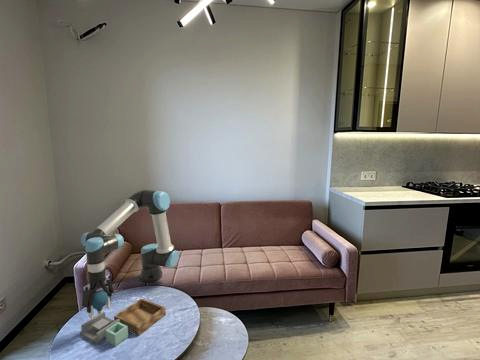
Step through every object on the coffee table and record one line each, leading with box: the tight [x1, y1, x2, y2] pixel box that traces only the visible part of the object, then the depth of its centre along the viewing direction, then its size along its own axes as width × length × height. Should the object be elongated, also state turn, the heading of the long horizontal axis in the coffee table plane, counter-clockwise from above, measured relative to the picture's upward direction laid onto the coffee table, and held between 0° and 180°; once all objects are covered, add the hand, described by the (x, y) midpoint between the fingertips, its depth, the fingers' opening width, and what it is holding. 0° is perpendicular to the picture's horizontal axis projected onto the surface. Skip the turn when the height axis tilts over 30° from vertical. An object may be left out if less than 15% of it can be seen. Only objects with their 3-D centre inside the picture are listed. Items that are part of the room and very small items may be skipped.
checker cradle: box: [79, 311, 120, 346], centre depth 138 cm, size 14×14×5 cm
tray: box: [113, 298, 167, 336], centre depth 147 cm, size 18×18×4 cm
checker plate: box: [92, 318, 110, 331], centre depth 138 cm, size 6×6×1 cm
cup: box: [105, 322, 129, 348], centre depth 133 cm, size 7×7×6 cm
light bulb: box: [91, 289, 108, 315], centre depth 136 cm, size 8×8×12 cm
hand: (99, 312), depth 137 cm, fingers closed on light bulb, 8 cm apart
